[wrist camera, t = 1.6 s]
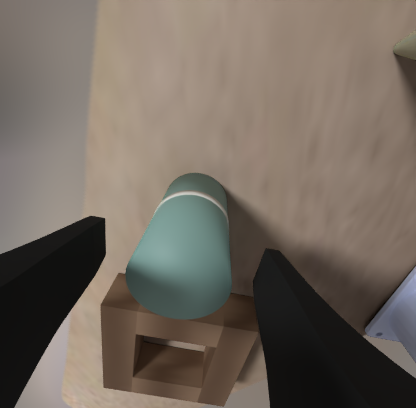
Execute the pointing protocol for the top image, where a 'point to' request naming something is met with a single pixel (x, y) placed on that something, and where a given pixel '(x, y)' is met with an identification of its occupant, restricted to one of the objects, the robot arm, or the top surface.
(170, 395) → the stand
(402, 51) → the ice cream cone
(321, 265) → the top surface
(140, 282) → the peg
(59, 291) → the robot arm
